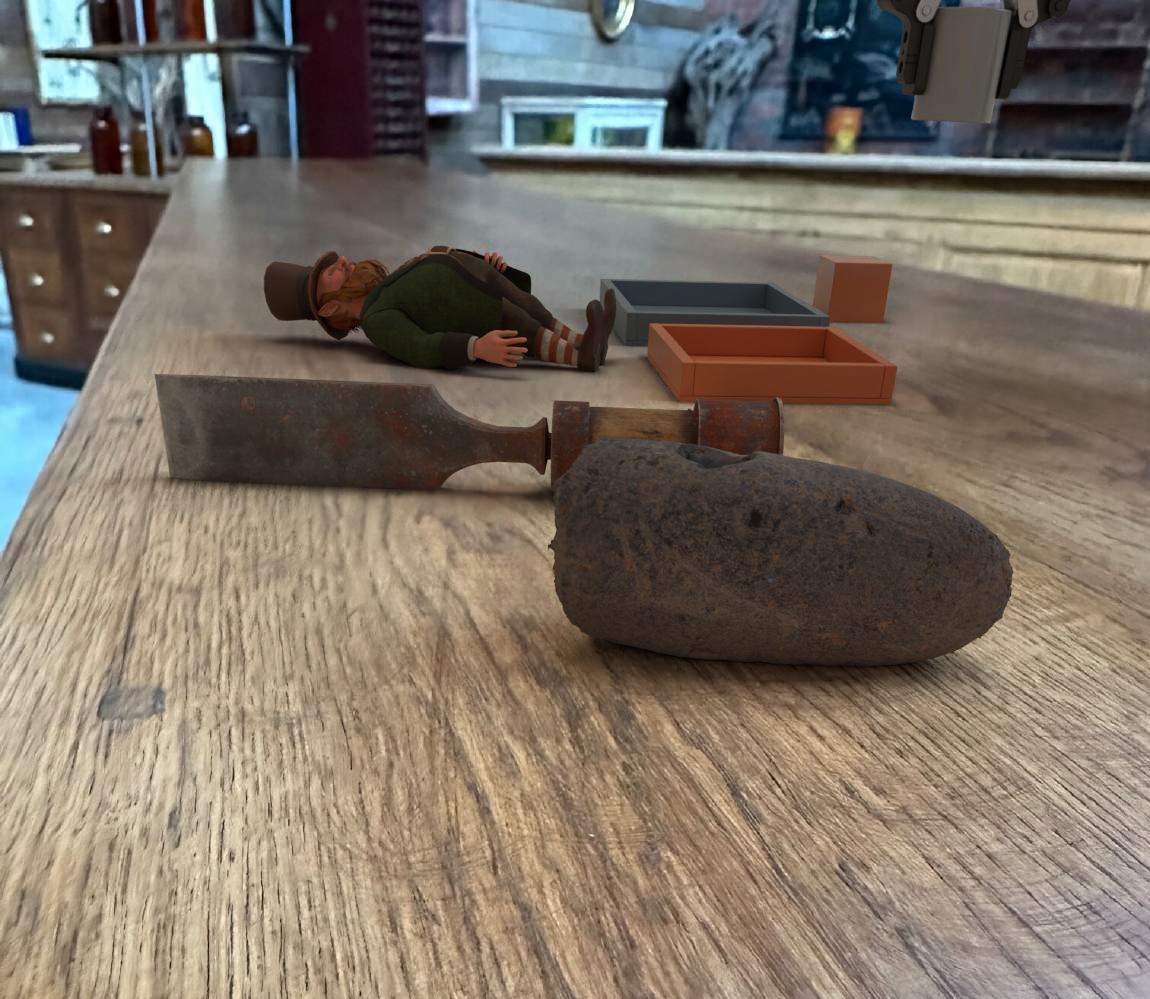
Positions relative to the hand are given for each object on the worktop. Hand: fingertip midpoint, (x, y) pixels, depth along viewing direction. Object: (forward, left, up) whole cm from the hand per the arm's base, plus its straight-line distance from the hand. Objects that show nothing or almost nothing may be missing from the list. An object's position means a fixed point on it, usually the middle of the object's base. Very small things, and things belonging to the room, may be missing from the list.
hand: (955, 95), depth 72 cm
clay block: (-2, -22, -17) cm, 28 cm away
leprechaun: (+34, -2, -17) cm, 38 cm away
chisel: (+32, +29, -17) cm, 46 cm away
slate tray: (+12, -16, -17) cm, 26 cm away
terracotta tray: (+12, +4, -17) cm, 21 cm away
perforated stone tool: (+22, +47, -17) cm, 54 cm away
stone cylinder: (0, 0, -1) cm, 1 cm away
